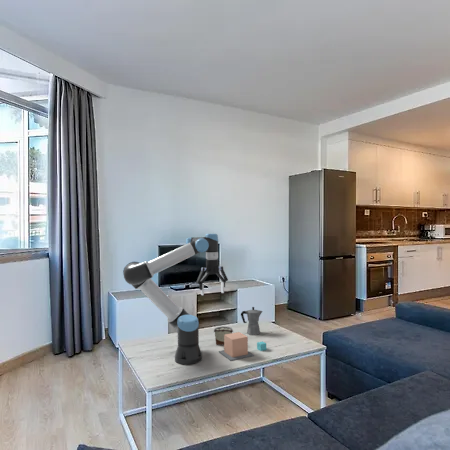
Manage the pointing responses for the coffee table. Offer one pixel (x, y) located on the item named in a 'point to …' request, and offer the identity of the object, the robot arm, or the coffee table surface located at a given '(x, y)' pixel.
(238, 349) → the salmon peach cube
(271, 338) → the coffee table surface
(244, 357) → the mat
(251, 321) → the coffeepot
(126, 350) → the coffee table surface
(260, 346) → the fully visible block
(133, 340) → the coffee table surface
